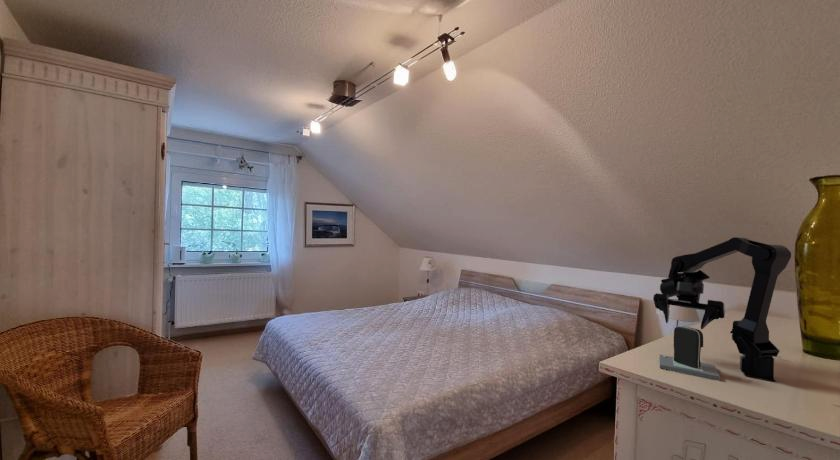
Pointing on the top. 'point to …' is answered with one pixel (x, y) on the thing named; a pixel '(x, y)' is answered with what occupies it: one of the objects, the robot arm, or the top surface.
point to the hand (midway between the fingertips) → (683, 325)
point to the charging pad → (689, 368)
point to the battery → (687, 346)
